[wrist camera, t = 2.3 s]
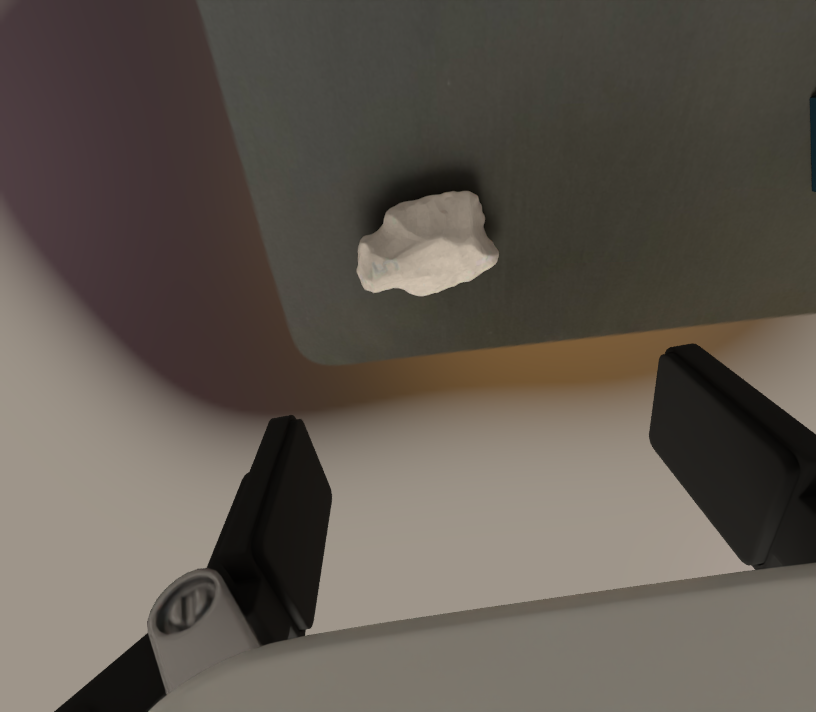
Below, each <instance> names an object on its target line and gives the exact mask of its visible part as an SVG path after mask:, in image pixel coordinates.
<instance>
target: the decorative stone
mask: <svg viewBox="0 0 816 712" xmlns="http://www.w3.org/2000/svg"><path fill="white" fill-rule="evenodd" d="M484 222H485V216H484V214H483V213H482V205H481V203H480V202H479V198H478V196H477V195H476V194H473V193H472V192H470V191H461V192H456V191H451V192H445V193H443V194H440V195H430V196H426V197H423V198H421V199H417V200H413V201H406V202H402V203H399V204H398V205H396V206H394V207H392V208H390V209H389V210H388V211H387V212H386V214H385V217H384V223H383V225H382V226H381V227H380V229H379V230H378V231H377V232H375V233H373V234H371V235H366V236H363V238H362V239H361V240H360V243H359V247H358V267H357V270H356V271H357V274H358V276H359V278H360V280H361V284H362V286H363V287H364V289H365V290H369V291H372V292H374V293H376V292H381V291H383V290H388V289H391V288H401V289H405V290H406V291H407V292H408V293H410V294H413V295H417V296H425V295H429V294H432V293H438V292H440V291H442V290H445V289H447V288H449V287H454V286H456V285H457V284H458V283H461V282H468V281H471V280H472V279H474V278H475V277H476V276H478V275H480V274H481V273H482V272H483V271H485V270H487V269H489V268H491V267H493V266H494V265H495V264H496V263H497V260H498V256H499V251H498V250H497V248H496V247H495V246H494V244H493V241H491V240H489V239H488V237H487V235H486V233H485V230H484V228H483V226H484Z"/></svg>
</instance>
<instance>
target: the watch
mask: <svg viewBox="0 0 816 712" xmlns="http://www.w3.org/2000/svg"><path fill="white" fill-rule="evenodd" d="M810 123H811V165H812V191H814V192H816V95H815V96H813V97H811V98H810Z"/></svg>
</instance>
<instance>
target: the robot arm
mask: <svg viewBox="0 0 816 712" xmlns="http://www.w3.org/2000/svg"><path fill="white" fill-rule="evenodd" d="M649 439H650V443H651V445H652V447H653V448H654V450H655V451H656V452H657V454H658V455H659V456H660V457H661V459H662V460H663V462H664V463H665V464H666V465H667V466H668V468H669V469H670V470H671V472H672V473H673V474H674V476H675V477H676V478H677V479H678V481H679V482H680V483H681V485H682V486H683V487H684V488H685V490H686V491H687V492H688V494H689V495H690V496H691V497H692V499H693V500H694V501H695V503H696V504H697V505H698V506H699V508H700V509H701V510H702V511H703V513H704V514H705V515H706V517H707V518H708V519H709V520H710V522H711V523H712V524H713V526H714V527H715V528H716V529H717V531H718V532H719V533H720V535H721V536H722V537H723V538H724V540H725V541H726V542H727V543H728V545H729V546H730V547H731V549H732V550H733V551H734V552H735V554H736V555H737V556H738V558H739V559H740V560H741V561H742V562H743V563H745V564H746V565H752V566H753V567H754V569H755V570H752V571H743V572H736V573H729V574H722V575H714V576H707V577H701V578H692V579H685V580H678V581H670V582H663V583H656V584H649V585H641V586H634V587H627V588H620V589H613V590H606V591H599V592H592V593H585V594H578V595H571V596H564V597H557V598H550V599H543V600H536V601H529V602H522V603H515V604H508V605H501V606H495V607H487V608H480V609H473V610H467V611H460V612H453V613H447V614H440V615H433V616H426V617H420V618H413V619H406V620H399V621H393V622H386V623H379V624H373V625H367V626H361V627H355V628H349V629H343V630H338V631H331V632H325V633H319V634H313V635H307V636H305V630H306V629H310V628H311V627H312V625H313V621H314V615H315V608H316V602H317V595H318V589H319V582H320V576H321V569H322V562H323V556H324V549H325V542H326V536H327V528H328V522H329V516H330V509H331V503H332V494H331V488H330V486H329V483H328V481H327V478H326V476H325V474H324V471H323V468H322V466H321V464H320V461H319V459H318V456H317V454H316V451H315V449H314V447H313V444H312V442H311V439H310V437H309V435H308V432H307V430H306V427H305V425H304V423H303V421H302V420H301V419H297V420H296V418H295V417H294V416H293V415H289V416H283V417H278V418H272V419H271V420H270V421H269V423H268V426H267V429H266V431H265V434H264V436H263V439H262V441H261V444H260V446H259V449H258V452H257V454H256V457H255V459H254V462H253V464H252V467H251V469H250V472H249V473H247V474H246V475H245V476H244V478H243V479H242V481H241V484H240V487H239V489H238V491H237V494H236V496H235V499H234V501H233V504H232V506H231V509H230V512H229V514H228V516H227V519H226V521H225V524H224V526H223V529H222V531H221V534H220V536H219V539H218V541H217V544H216V546H215V548H214V551H213V554H212V556H211V558H210V561H209V563H208V566H207V568H205V569H197V570H194V571H191V572H188V573H186V574H184V575H183V576H181V577H179V578H178V579H176V580H175V581H174V582H173V583H172V584H170V585H169V586H168V587H167V588H166V589H165V590H164V592H162V594H161V595H160V596H159V597H158V599H157V600H156V602H155V604H154V605H153V607H152V609H151V611H150V614H149V618H148V621H147V627H148V633H147V634H146V635H145V636H144V637H142V638H141V639H140V640H139V641H138V642H136V643H135V644H134V645H133V646H132V647H131V648H129V649H128V650H127V651H126V652H125V653H123V654H122V655H121V656H120V657H119V658H118V659H116V660H115V661H114V662H113V663H112V664H110V665H109V666H108V667H107V668H106V669H104V670H103V671H102V672H101V673H100V674H98V675H97V676H96V677H95V678H94V679H93V680H91V681H90V682H89V683H88V684H87V685H85V686H84V687H83V688H82V689H81V690H79V691H78V692H77V693H76V694H75V695H74V696H72V698H70V699H69V700H68V701H66V702H65V703H64V704H63V705H62V706H61V707H59V708H58V709H57V710H56V711H54V712H816V434H814V433H813V432H812V431H810V430H809V429H808V428H807V427H805V426H804V425H803V424H801V423H800V422H799V421H797V420H796V419H795V418H793V417H792V416H791V415H789V414H788V413H787V412H785V411H784V410H783V409H781V408H780V407H779V406H778V405H776V404H775V403H774V402H772V401H771V400H770V399H768V398H767V397H766V396H764V395H763V394H762V393H760V392H759V391H758V390H756V389H755V388H754V387H752V386H751V385H750V384H748V383H747V382H746V381H745V380H743V379H742V378H741V377H739V376H738V375H737V374H735V373H734V372H733V371H731V370H730V369H729V368H727V367H726V366H725V365H724V364H722V363H721V362H720V361H718V360H717V359H716V358H714V357H713V356H712V355H710V354H709V353H708V352H706V351H705V350H704V349H702V348H701V347H700V346H698V345H697V344H687V345H681V346H676V347H670V348H668V349H667V350H666V352H665V354H663V355H661V356H660V358H659V364H658V371H657V378H656V387H655V394H654V401H653V409H652V416H651V424H650V431H649Z"/></svg>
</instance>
